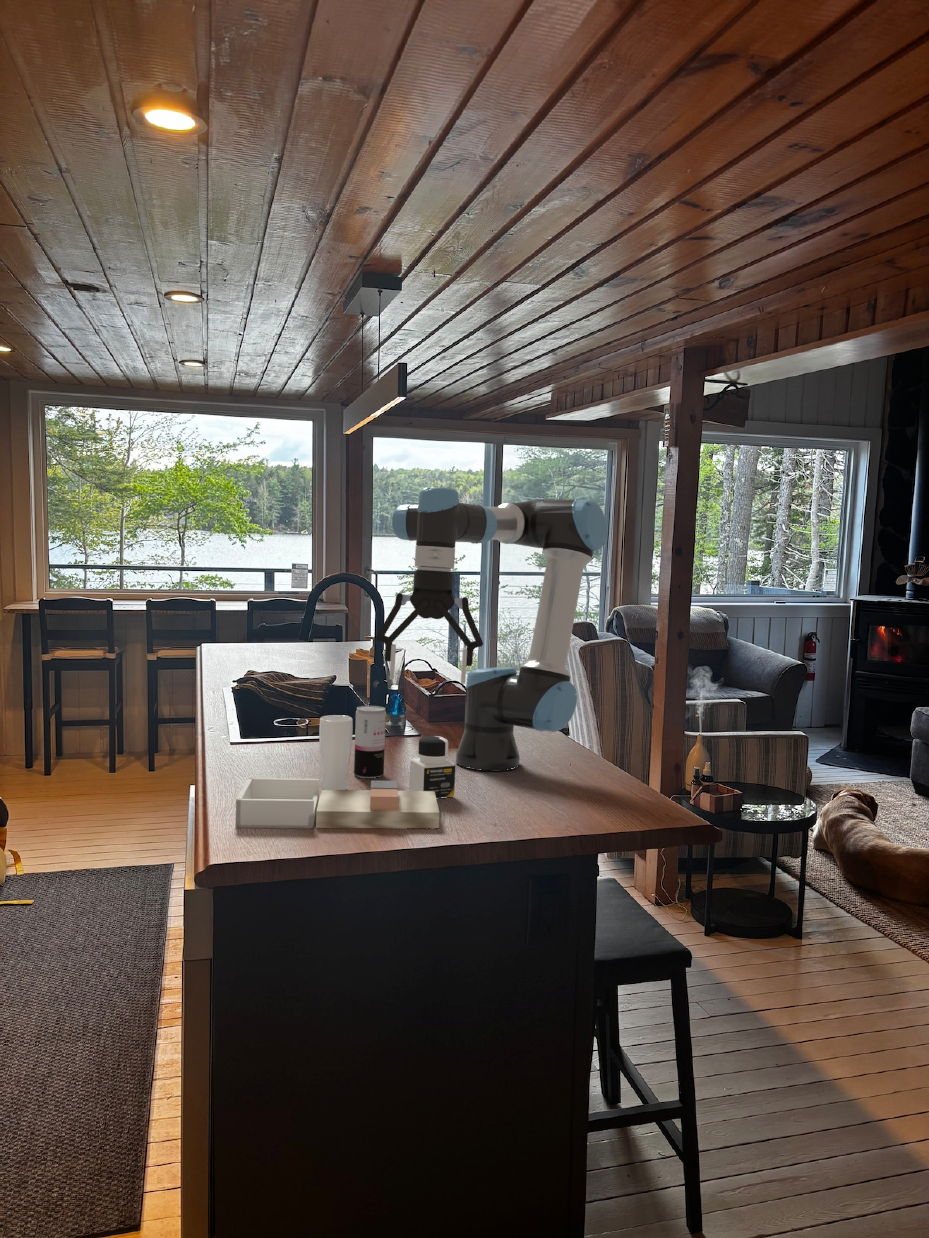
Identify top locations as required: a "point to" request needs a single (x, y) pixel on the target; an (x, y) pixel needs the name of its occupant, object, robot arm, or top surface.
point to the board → (356, 812)
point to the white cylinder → (335, 751)
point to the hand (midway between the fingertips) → (427, 681)
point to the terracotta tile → (384, 799)
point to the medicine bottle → (433, 768)
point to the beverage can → (369, 741)
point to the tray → (277, 803)
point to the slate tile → (384, 785)
